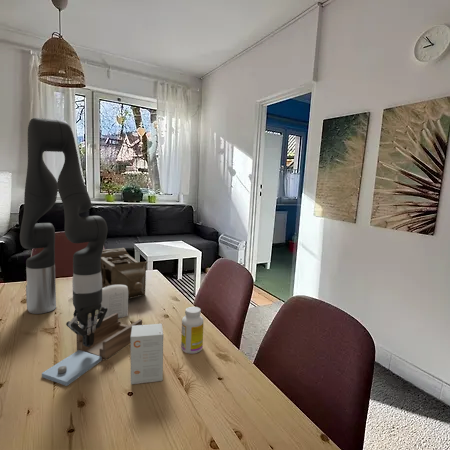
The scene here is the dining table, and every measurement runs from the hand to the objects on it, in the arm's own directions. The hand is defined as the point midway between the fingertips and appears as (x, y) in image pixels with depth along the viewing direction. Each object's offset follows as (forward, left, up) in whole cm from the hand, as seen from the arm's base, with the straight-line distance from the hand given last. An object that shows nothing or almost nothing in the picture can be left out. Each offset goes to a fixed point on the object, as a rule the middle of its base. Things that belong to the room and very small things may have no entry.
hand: (88, 345), depth 87 cm
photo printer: (-12, +23, -4) cm, 26 cm away
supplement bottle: (+24, +18, -4) cm, 30 cm away
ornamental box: (-26, +43, -4) cm, 50 cm away
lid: (+1, -6, -4) cm, 7 cm away
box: (0, +9, -4) cm, 10 cm away
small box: (+20, +1, -4) cm, 20 cm away
